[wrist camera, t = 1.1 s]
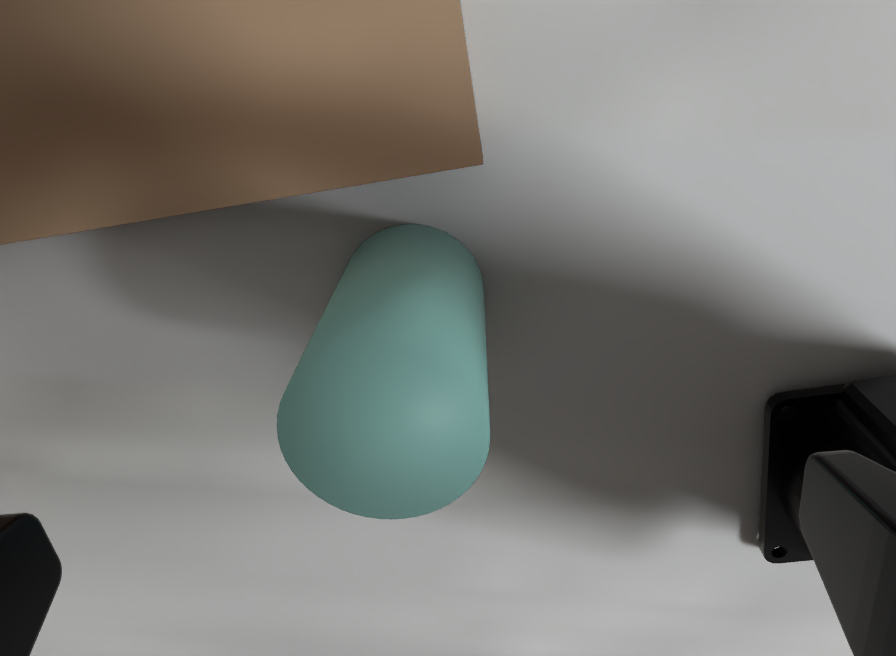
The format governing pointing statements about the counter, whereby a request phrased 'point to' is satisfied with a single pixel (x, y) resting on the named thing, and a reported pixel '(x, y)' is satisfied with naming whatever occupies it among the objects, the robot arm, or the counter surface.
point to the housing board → (220, 104)
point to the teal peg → (393, 380)
